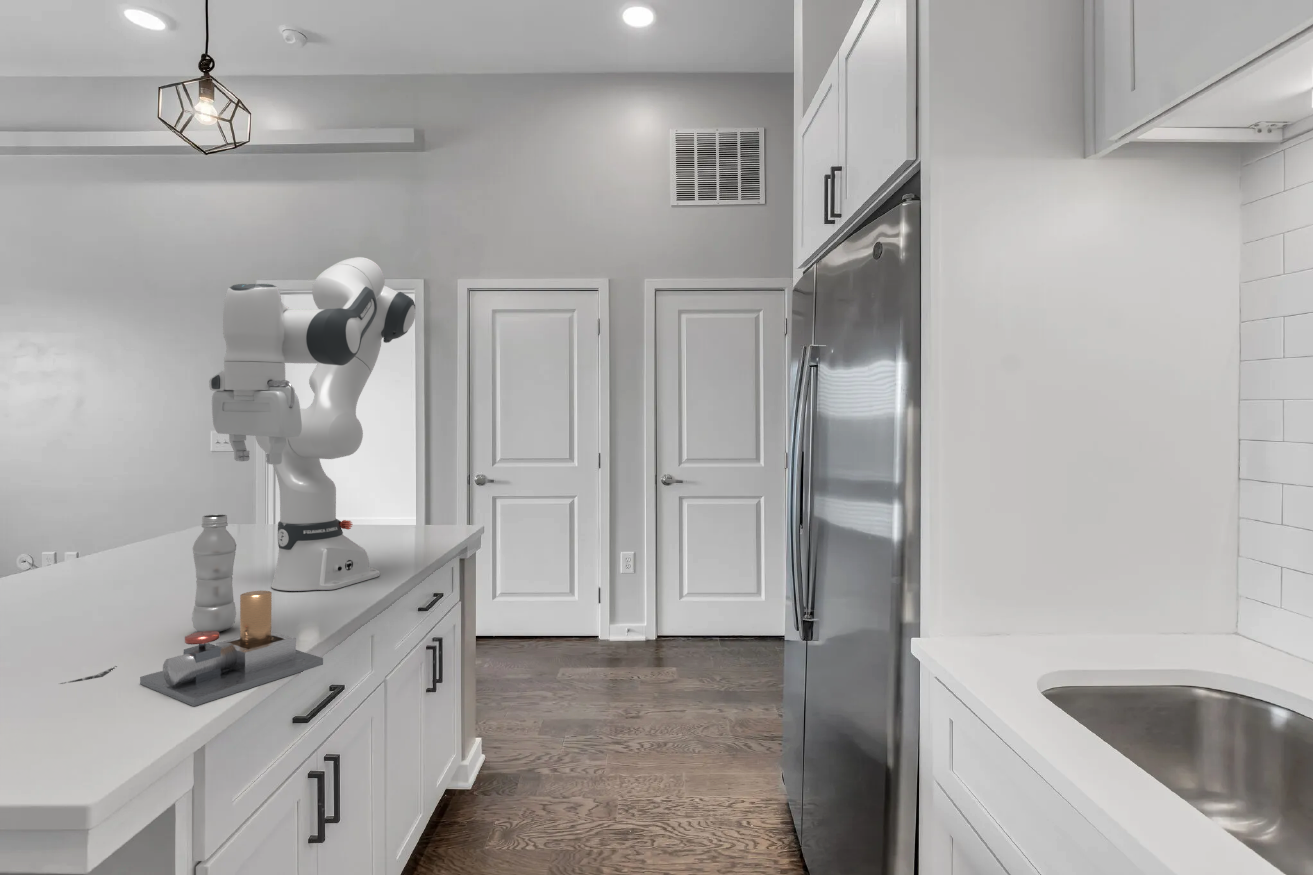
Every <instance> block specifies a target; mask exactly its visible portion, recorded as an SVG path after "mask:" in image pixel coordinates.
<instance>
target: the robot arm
mask: <svg viewBox="0 0 1313 875" xmlns="http://www.w3.org/2000/svg"><path fill="white" fill-rule="evenodd" d="M385 282H386V280H385V275H384V272H383V270H382V269H381V267H380V265H378V264H377V263H376V262H375V261H373V260H372V259H369V258H366V257H363V256H354V257H350V258H346V259H343V260H340V261H338V262H336V263H333V265H331V266H329V267H328V268H326V269H325V270H323V271H322V272H321V273H319V275H318V276H317V277H316V278H315V280H314V282H313V284H312V291H311V292H312V299H313V301H314V304H315V306H316V307H317V309H314V308H313V309H312V308H309V309H307V308H305V309H304V308H301V309H299V308H298V309H293V308H290V307H288V306H286V304H284V303H283V301H282V297H281V291H280V289H279V287H278V286H276V285H274V284H272V283H271V284H270V283H238V284H237V283H236V284H233V285H231V286H229V287H228V288H227V290H226V292H225V297H224V301H223V302H224V303H223V311H222V312H223V313H222V314H223V315H222V330H223V331H222V332H223V333H222V334H223V338H224V341H225V344H226V345H225V346H226V351H225V355H224V357H223V358H224V359H223V365H224V366H223V368H222V369H221V370H220V371H219V372H218V373H217V374H215V375H213V376H212V377H210V378H209V381H208V384H209V386H208V387H209V390H210V391H211V392H212V391H213V393H212V396H211V414H212V423H213V425H212V426H213V427H214V430H215V431H216V433H217V434H219V435H228V438H229V439H228V440H229V441H228V442H229V443H230V445H231V448H232V450H233V456H234V458H233V459H234V461H235V462H248V461H249V460H250V450H248V449H247V446H246V442H245V441H247V436H250V437H251V436H253V437H254V438H255V440H256V443H257V444H258V446H259V447H260V449H262V450H263V451H264V452H265V458H266V459H265V460H266V461H265V462H266V464H268V465H272V466H273V468H274V469H273V470H274V471H275V474H276V478H277V481H278V487H279V488H278V489H279V511H280V512H279V519H280V520H279V521H278V523H277V545H278V556H277V563H276V568H275V572H274V576H273V580H272V582H271V585H270V587H271V588H272V589H274V590H278V591H286V592H287V591H289V592H290V591H291V592H297V591H298V592H300V591H301V592H302V591H317V590H318V591H319V590H320V591H325V590H327V591H328V590H337V589H340V588H343V587H347V586H350V585H354V584H357V583H361V582H364V581H367V580H371V579H374V578H378V577H380V574H381V573H380V571H379V570H378V569H377V568H376V569H375V568H373V567H370V562H369V556H368V553H367V551H366V549H365V548H364V547H362V546H360V545H359V544H357V543H356V542H355V541H353V540H352V539H350V538H349V537H347V536H345V535H344V532H343V530H345V529H346V530H350V529H352V527H353V522H352V521H351V520H346V519H343V520H339V519H337V488H336V485H335V484H336V483H335V482H334V481H333V480H332V479H331V478H330V477H329V476H328V474H326V472H325V470H324V469H323V466H322V463H321V461H320V459H322V460H334V459H339V458H344V457H348V456H351V455H353V454H354V453H356V452H357V451H358V450H359V449H360V446H361V444H362V442H363V437H364V430H363V427H362V423H361V421H360V420H359V418H358V417H357V406H358V401H359V398H360V396H361V394H362V393H363V390H364V388H365V386H366V383H367V381H368V380H369V378H370V376H371V374H372V372H373V370H374V368H375V366H376V363H377V360H378V357H379V354H380V351H381V347H382V339H383V343H386V344H387V343H390V342H392V340H396V339H399V338H401V337H403V336H404V335H406V334H407V333H408V332H409V330H410V329H411V327H412V326H413V324H414V322H415V319H416V304H415V301H414V300H413V298H412V297H410V296H409V295H407V294H405V292H401V291H397V290H395V289H393V288H391V287H389V286H386V285H385ZM286 364H315V365H316V366H315V368H314V369H313V371H312V373H311V374H310V376H309V379H308V380H309V381H308V382H309V383H308V384H309V387H310V388H311V391H312V392H313V393H314V395H313V400H312V402H311V404H310V405H309V406H308V407H306V408H301V406H300V405H301V404H300V401H299V396H298V395H297V393H296V390H295V387H293V386H292V384H291V383H290V381H288V380H286Z"/></svg>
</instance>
